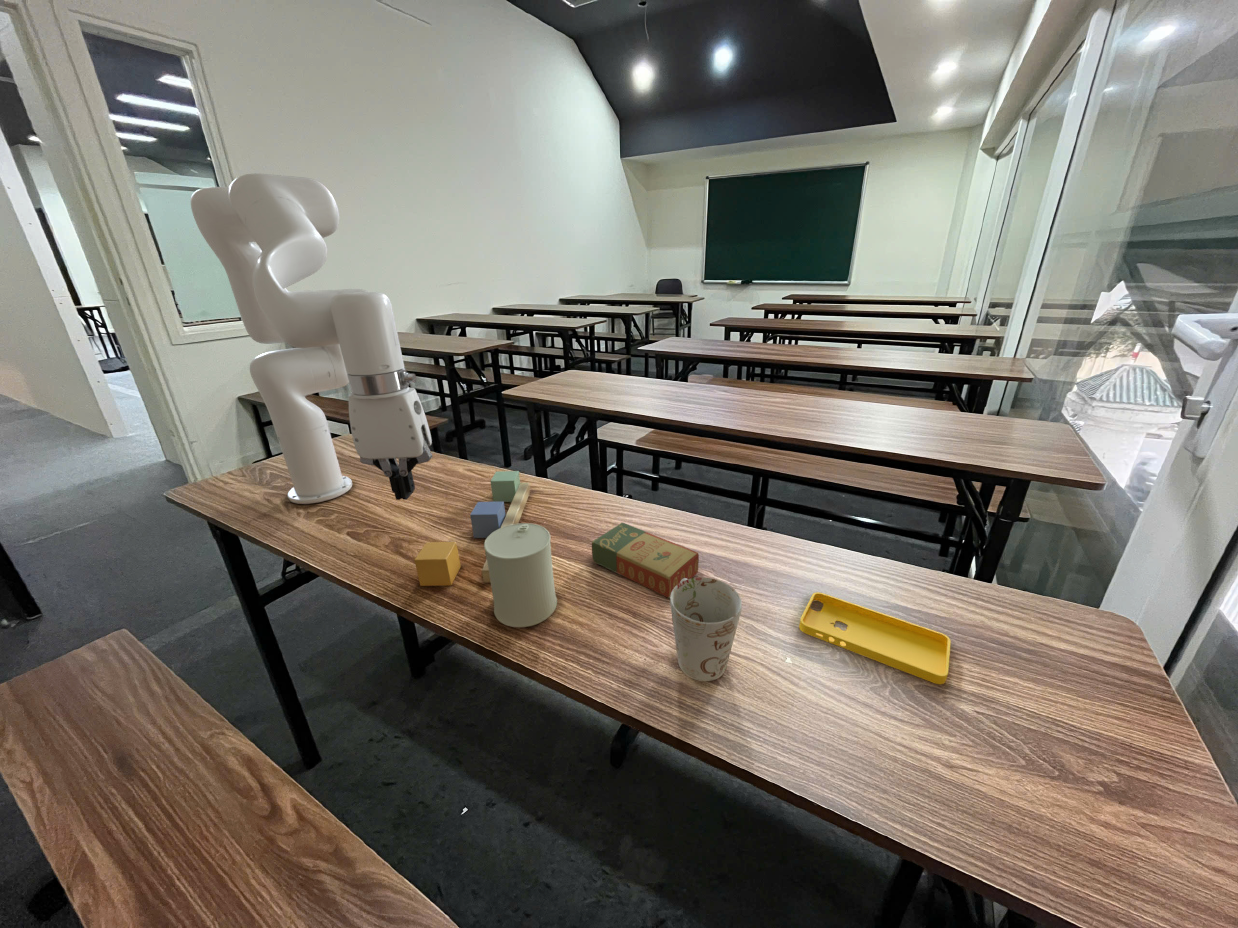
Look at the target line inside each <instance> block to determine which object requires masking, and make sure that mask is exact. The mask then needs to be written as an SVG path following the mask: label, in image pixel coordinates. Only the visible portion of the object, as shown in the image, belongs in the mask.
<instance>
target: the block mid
mask: <svg viewBox="0 0 1238 928" xmlns="http://www.w3.org/2000/svg"><path fill="white" fill-rule="evenodd" d="M505 516H506V508H505V502H493V501H477V503H476V504H475V506H474V507H473V509H472V511H471V513H470V514H469V517H470V523H471V528H472V535H473V539H486V538H487V537H488V536H489V535H490V534H491V533H493V532H494V531H496V530H498V529H500V528H501V526H502V523H503V521H504V519H505Z"/></svg>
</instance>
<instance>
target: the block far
mask: <svg viewBox="0 0 1238 928" xmlns="http://www.w3.org/2000/svg"><path fill="white" fill-rule="evenodd" d="M520 483H521V478H520V471H519V470H506V471H505V470H501V471H500V470H499V471H495V473H494V474H493V475H492V478H491V479H490V489H491V494H492V495H491V496H492V502H504V503H512V500H513V498H514V496H515V494H516V491H517V489H518V487H519V484H520Z"/></svg>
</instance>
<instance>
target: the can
mask: <svg viewBox="0 0 1238 928" xmlns="http://www.w3.org/2000/svg"><path fill="white" fill-rule="evenodd" d="M551 538H552V537H551V533H550V532H549V530H548V529H547V528H545V527H544V526H543V525H539V524H536V523H531V522H530V523H528V522H519V523H518V524H512V525H508V526H505V527H502V528H500V529H498V530H496V531H494V532H493V533H491V534H490V535H489V536H488V537H487V538H485V540H484V542H483V548H484V549H483V550H484V553H485V557H486V560H487V564H488V569H489V575H490V581H491V583H490V587H491V593H492V599H493V614H494V617H495V618H496V619H497V621H498V622H500V623H501V624H503V625H505V626H507V627H511V628H527V627H533V626H536V625H538V624H540V623H542V622H544V621H546V620H547V619H549V618H550V617H551V616H552V615H553V613H554V612H555V611H556V608H557V605H558V597H557V595H556V587H555V580H554V579H555V578H554V569H553V557H552V547H551Z"/></svg>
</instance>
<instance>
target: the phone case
mask: <svg viewBox="0 0 1238 928" xmlns="http://www.w3.org/2000/svg"><path fill="white" fill-rule="evenodd" d="M815 601H816V602H819V603H821V604H822V607H821V609H820V610H814V609H812V608H811V606H812V604H813V602H815ZM836 622H840V623H842V624H845V625H846V626H847V627H846V629H844V630H843V629H841V628H840V627H838V626H835V625H836ZM798 628H799V631H801V632H802V633H803V634H805V635H807V636H811V637H813V638H815V639H818V640H821V641H824V642H825V643H829V644H831V645H834V646H836V647H839V648H842V649H844V650H847V651H849V652H852V653H855V654H857V655H860V656H863V657H865V658H868V659H871V660H873V661H875V662H878V663H881V664H884V665H886V666H887V667H891V668H894V669H896V670H899V671H901V672H903V673H907V674H909V675H912V676H914V677H917V678H919V679H923V680H924V681H927V682H930V683H932V684H934V685H935V684H936V685H944V684H945V683H946V682H947V679H948V675H949V671H950V669H949V668H950V656H951V644H952V640H951V638H950V637H949V636H948V635H946V634H945V633H942V632H940V631H937V630H934V629H931V628H928V627H925V626H922V625H919V624H916V623H913V622H910V621H907V620H904V619H901V618H898V617H896V616H893V615H889V614H887V613H883V612H881V611H877V610H874V609H871V608H868V607H866V606H863V605H859V604H857V603H854V602H851V601H847V600H845V599H842V598H839V597H835V596H834V595H833V596H832V595H829V594H827V593H824V592H820V591H816V592H813V593H812V595H810V598H809V601H808V603H807V604H806V606H805V608H804V610H803V613H802V614H801V617H800V618H799V624H798Z"/></svg>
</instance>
